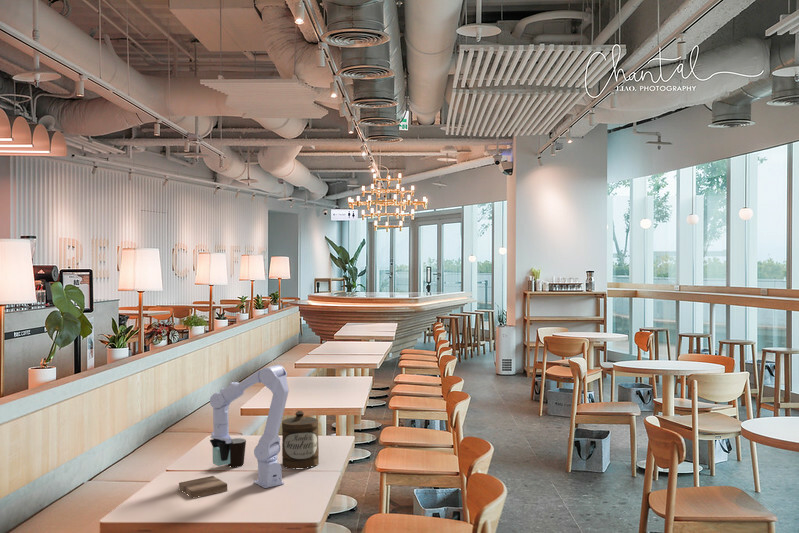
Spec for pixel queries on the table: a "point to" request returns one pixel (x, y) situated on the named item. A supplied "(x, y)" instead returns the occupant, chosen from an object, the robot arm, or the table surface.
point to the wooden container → (300, 441)
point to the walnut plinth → (203, 486)
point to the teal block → (219, 457)
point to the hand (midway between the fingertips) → (221, 458)
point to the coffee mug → (237, 452)
